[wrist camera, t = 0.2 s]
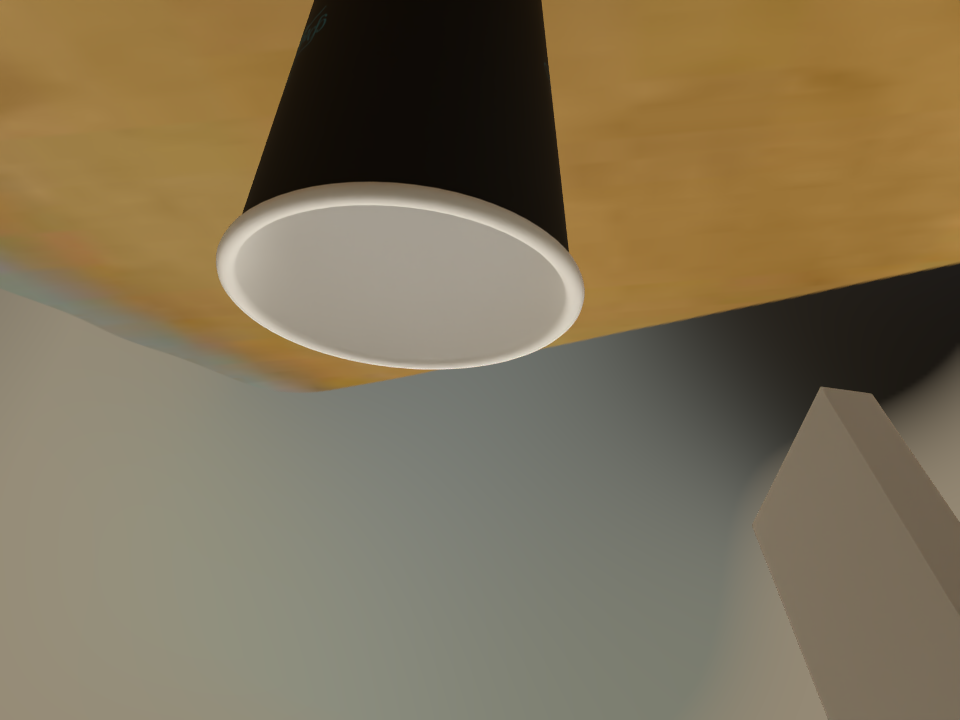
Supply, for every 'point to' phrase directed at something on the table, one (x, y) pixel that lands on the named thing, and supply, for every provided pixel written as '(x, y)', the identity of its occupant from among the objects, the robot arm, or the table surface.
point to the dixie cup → (410, 190)
